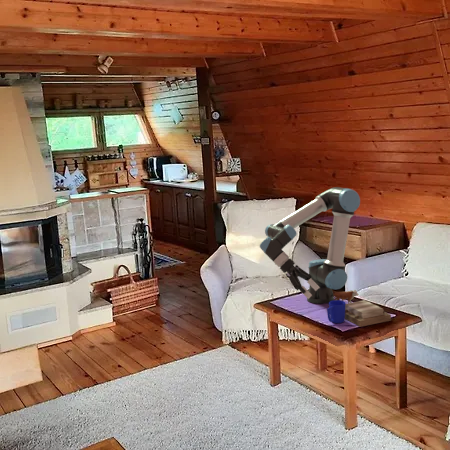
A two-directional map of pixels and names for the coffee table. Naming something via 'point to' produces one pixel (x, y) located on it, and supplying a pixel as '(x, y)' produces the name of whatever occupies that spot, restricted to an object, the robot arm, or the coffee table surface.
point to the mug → (336, 311)
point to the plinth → (367, 320)
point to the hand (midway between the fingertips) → (314, 293)
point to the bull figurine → (345, 295)
